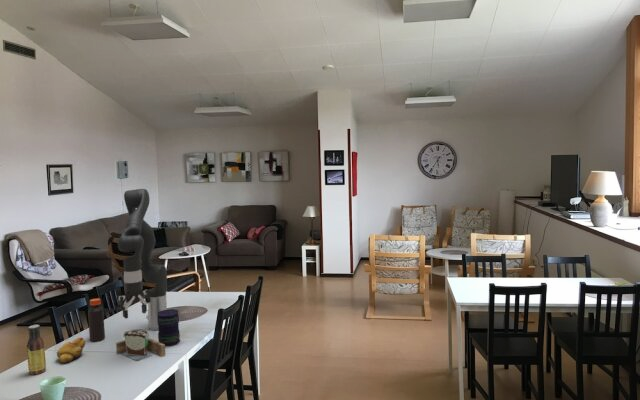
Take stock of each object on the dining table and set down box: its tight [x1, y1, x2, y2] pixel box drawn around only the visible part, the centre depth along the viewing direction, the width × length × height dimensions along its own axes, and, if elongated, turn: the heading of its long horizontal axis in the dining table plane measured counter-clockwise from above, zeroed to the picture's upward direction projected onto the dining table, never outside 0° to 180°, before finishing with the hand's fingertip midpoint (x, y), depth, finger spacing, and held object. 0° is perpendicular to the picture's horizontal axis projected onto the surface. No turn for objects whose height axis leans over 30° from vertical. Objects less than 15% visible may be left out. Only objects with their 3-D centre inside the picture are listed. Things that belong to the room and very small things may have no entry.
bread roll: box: [56, 337, 86, 364], centre depth 209 cm, size 13×10×8 cm
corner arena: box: [115, 337, 166, 362], centre depth 211 cm, size 20×12×5 cm, turn 51°
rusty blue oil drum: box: [157, 308, 181, 348], centre depth 225 cm, size 10×10×15 cm
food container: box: [123, 328, 150, 356], centre depth 213 cm, size 12×6×10 cm, turn 73°
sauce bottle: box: [26, 324, 47, 376], centre depth 194 cm, size 7×6×20 cm
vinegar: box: [87, 298, 106, 343], centre depth 231 cm, size 7×7×20 cm
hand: (135, 315), depth 210 cm, fingers open, 8 cm apart
